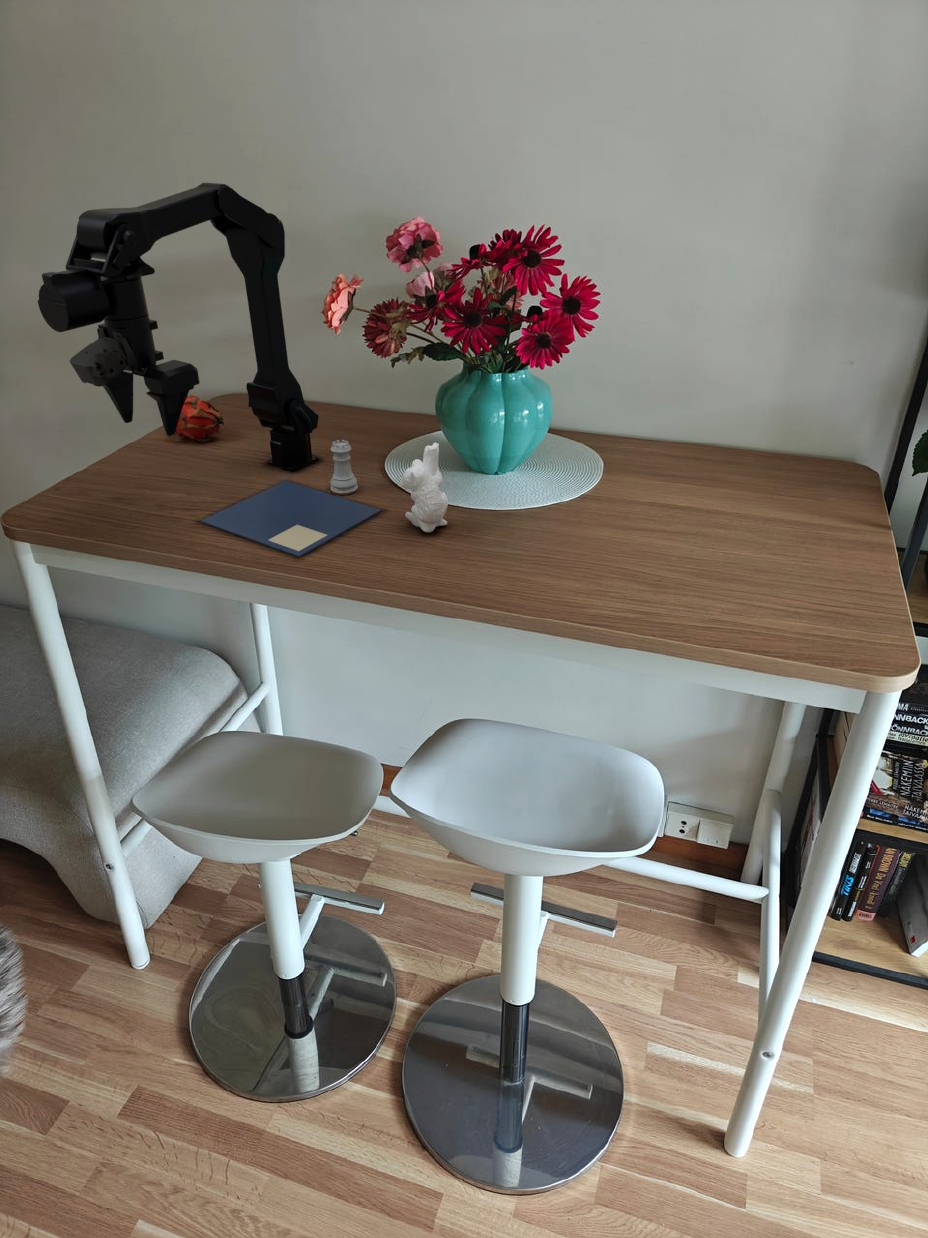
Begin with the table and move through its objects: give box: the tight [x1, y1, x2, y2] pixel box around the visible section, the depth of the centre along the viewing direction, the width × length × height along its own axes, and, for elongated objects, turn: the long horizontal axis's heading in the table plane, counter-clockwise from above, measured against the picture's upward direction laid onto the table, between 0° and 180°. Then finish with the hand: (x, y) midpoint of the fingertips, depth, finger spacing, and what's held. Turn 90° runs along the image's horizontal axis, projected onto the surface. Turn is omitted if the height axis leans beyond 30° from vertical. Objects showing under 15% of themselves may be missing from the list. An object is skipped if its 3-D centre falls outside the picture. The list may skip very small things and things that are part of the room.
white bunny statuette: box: [399, 442, 449, 533], centre depth 127 cm, size 8×7×12 cm
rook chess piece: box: [329, 439, 359, 496], centre depth 140 cm, size 4×4×8 cm
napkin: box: [200, 480, 382, 558], centre depth 133 cm, size 18×20×1 cm
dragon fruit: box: [175, 394, 225, 442], centre depth 160 cm, size 8×8×12 cm
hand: (149, 428), depth 125 cm, fingers open, 9 cm apart
